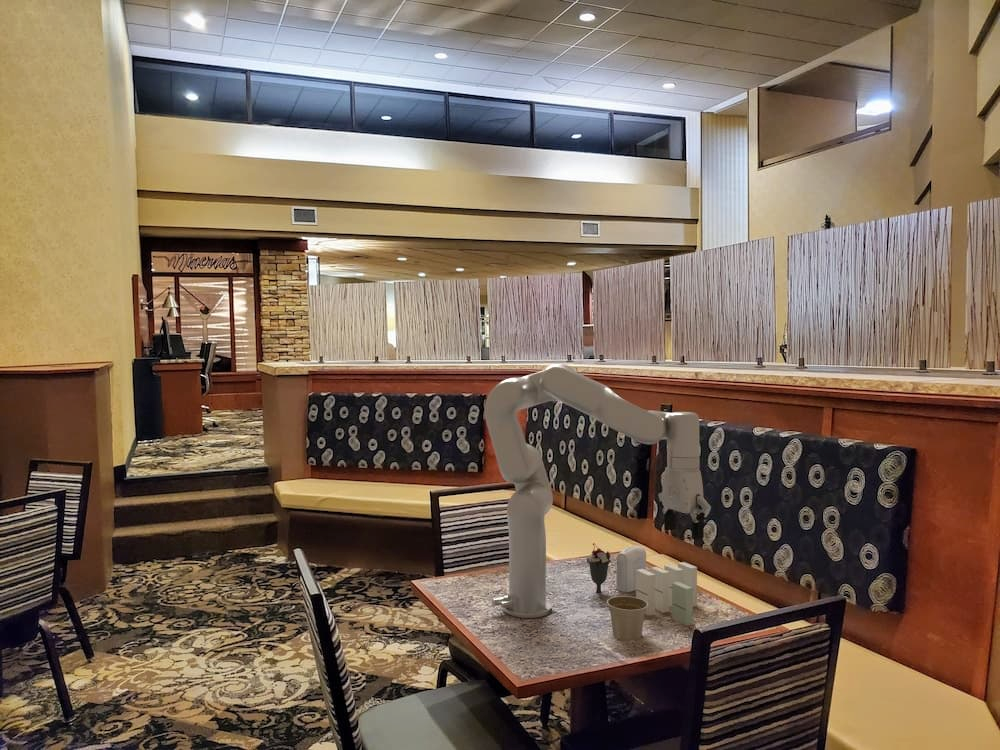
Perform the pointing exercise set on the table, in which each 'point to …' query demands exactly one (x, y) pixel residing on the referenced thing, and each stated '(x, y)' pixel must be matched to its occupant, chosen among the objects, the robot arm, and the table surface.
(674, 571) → the domino
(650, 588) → the domino
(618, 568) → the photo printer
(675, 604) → the pale green domino
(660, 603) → the domino
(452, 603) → the table surface
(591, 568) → the sundae
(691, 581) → the domino
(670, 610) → the domino board
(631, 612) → the flower pot
